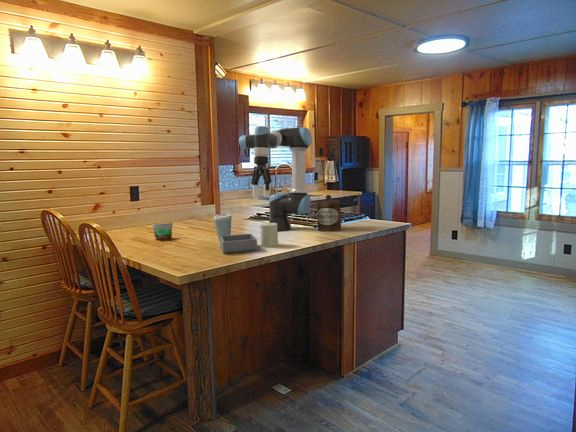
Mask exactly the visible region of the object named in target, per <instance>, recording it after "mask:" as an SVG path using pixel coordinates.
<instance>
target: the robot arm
mask: <svg viewBox="0 0 576 432" xmlns="http://www.w3.org/2000/svg"><path fill="white" fill-rule="evenodd" d="M312 142H313V137H312V133H311V130H310V129H309V128H308V127H305V126H303V127H302V126H300V127H288V128H287V127H286V128H281V129H278V130H277V129H276V130H272V131H271V132H270V129H269V127H268V126H265V125H257V126H255V127H254V133H253V134H244V135H241V136H240V137H239V138H238V144H239V147H240V148H241V149H243V150H248V149H249V150H250V149H251V150H252V149H253V152H254V153H253V154H254V157H253V163H254V164H255V166H254V165H253V172H252V177H251V181H250V182H251V185H252V197H253V198H259V181H260V177H262V180H263V198H264V197H265V198H268V199H269V200H268V203H269V220H268V223H277V232H284V231H289V230H291V229H292V225H291V222H290V218H289V215H290V214H291V215H292V214H295V215H301V214H304V215H305V214H308V212H309V210H310V208H311V203H312V202H311V201H312V200H311V196H310V195H308V192H307V190H306V171H307V169H306V166H307V165H306V162H307V161H306V160H307V151H308V150H309V147H310V146H312ZM279 147H283V148H284V147H286V148H289V150H290V151H291V153H292V154H291V190H290V191H289V192H283V193H277V194H272V195H270V184H271V183H272V182H273V181H272V177H271V172H270V165H269V155H270V154H269V153H270V151H269V150H270V149H276V148H279Z"/></svg>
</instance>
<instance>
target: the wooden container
mask: <svg viewBox="0 0 576 432" xmlns="http://www.w3.org/2000/svg"><path fill="white" fill-rule="evenodd" d="M316 207H317V210H316V211H317V214H316V215H317V217H316V218H317V220H316V221H317V230H318V231H320V232H325V231H329V232H330V231H331V232H337V231H341V230H342V212H341V211H342V210H341V200H339V199H338V200H337V199H332V195H330V194H327V195H326V196H325V199H323V200H318V201H316Z"/></svg>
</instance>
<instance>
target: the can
mask: <svg viewBox="0 0 576 432" xmlns="http://www.w3.org/2000/svg"><path fill="white" fill-rule="evenodd" d="M259 227H260V247H263V248H274V247H275V248H276V247H278V246H279V237H278V236H279V234H278V231H277V223H269V222H263V223H260V225H259Z"/></svg>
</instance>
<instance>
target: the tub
mask: <svg viewBox="0 0 576 432" xmlns="http://www.w3.org/2000/svg"><path fill="white" fill-rule="evenodd" d="M219 243H220V249H221V251H222V254H223V255H227V254H238V253H239V254H240V253H250V252H252V253H253V252H258V239H257V238H256V237H255V235H254V234H252V233H243V234H241V233H240V234H231V235H228V236H220V241H219Z"/></svg>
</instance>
